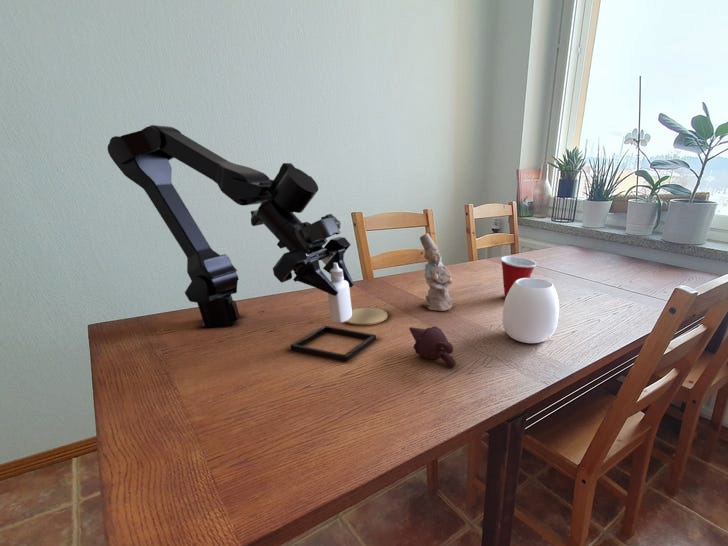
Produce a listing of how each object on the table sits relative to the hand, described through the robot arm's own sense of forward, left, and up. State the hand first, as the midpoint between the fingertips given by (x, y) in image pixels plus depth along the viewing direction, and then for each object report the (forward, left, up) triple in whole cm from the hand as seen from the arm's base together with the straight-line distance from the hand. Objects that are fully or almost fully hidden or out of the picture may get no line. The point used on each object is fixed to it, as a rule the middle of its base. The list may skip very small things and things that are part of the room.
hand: (344, 290), depth 77 cm
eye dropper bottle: (-1, +1, -7) cm, 7 cm away
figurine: (+24, +19, -12) cm, 33 cm away
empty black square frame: (-3, 0, -12) cm, 13 cm away
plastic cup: (+49, +22, -12) cm, 55 cm away
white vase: (+41, -5, -12) cm, 43 cm away
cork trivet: (+4, +15, -12) cm, 20 cm away
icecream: (+16, -10, -12) cm, 22 cm away
